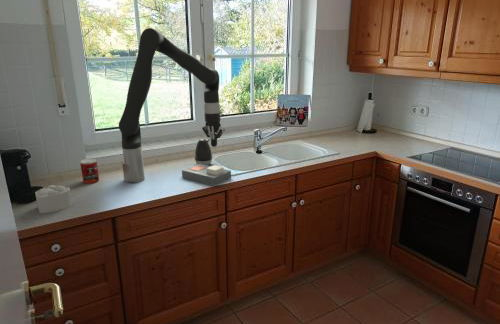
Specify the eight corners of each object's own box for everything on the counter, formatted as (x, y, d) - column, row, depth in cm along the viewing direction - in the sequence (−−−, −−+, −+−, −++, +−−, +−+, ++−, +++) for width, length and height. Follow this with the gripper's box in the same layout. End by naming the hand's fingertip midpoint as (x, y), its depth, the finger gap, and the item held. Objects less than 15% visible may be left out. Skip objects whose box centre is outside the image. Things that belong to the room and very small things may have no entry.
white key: (216, 177, 182) (215, 170, 181) (206, 174, 185) (206, 168, 184) (223, 173, 186) (223, 167, 185) (214, 171, 190) (214, 165, 189)
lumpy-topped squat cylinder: (37, 206, 158) (33, 187, 156) (70, 199, 165) (67, 181, 163) (39, 214, 150) (35, 195, 148) (74, 207, 157) (71, 188, 154)
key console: (214, 185, 179) (214, 178, 178) (182, 177, 191) (181, 170, 190) (231, 178, 189) (230, 170, 188) (199, 170, 201) (198, 163, 200)
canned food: (83, 185, 182) (80, 163, 179) (82, 180, 189) (79, 159, 185) (100, 182, 185) (97, 161, 182) (98, 177, 192) (95, 157, 189)
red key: (198, 177, 189) (197, 170, 188) (189, 175, 192) (189, 168, 191) (205, 173, 194) (205, 167, 193) (197, 171, 197) (197, 165, 196)
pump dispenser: (216, 164, 212) (215, 138, 207) (202, 168, 204) (201, 142, 200) (205, 160, 218) (203, 135, 214) (191, 164, 211) (189, 139, 206)
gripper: (196, 111, 177) (199, 146, 183) (218, 113, 170) (219, 149, 175) (206, 109, 183) (208, 143, 189) (227, 111, 176) (229, 146, 181)
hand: (214, 146), depth 182 cm, fingers closed
